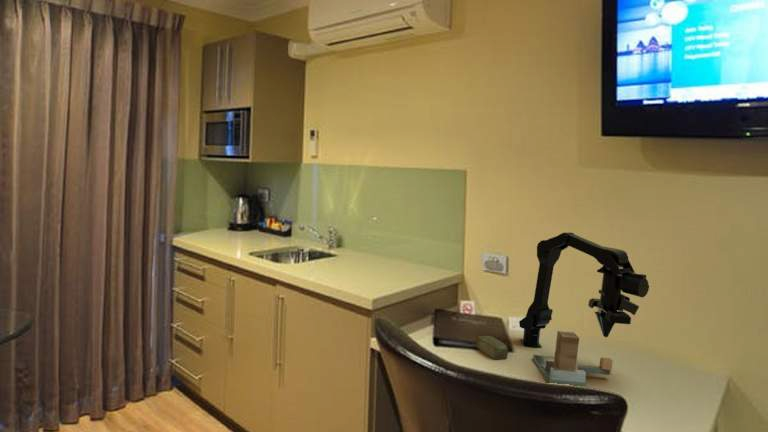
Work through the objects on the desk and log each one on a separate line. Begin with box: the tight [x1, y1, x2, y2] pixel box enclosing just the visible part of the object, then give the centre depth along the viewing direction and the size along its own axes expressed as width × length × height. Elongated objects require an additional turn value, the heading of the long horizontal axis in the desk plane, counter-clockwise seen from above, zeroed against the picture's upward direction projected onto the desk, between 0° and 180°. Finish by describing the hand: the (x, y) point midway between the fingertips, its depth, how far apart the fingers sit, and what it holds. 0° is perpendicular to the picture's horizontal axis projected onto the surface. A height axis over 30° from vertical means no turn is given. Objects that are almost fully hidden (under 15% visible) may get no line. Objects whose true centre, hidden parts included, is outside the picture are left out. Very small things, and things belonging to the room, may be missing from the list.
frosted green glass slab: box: [532, 354, 587, 387], centre depth 158 cm, size 20×11×4 cm, turn 178°
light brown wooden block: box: [543, 357, 613, 376], centre depth 156 cm, size 2×20×5 cm, turn 88°
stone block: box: [476, 335, 509, 360], centre depth 170 cm, size 6×12×5 cm, turn 24°
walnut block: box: [553, 330, 580, 369], centre depth 152 cm, size 5×5×13 cm
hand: (605, 336), depth 158 cm, fingers closed
